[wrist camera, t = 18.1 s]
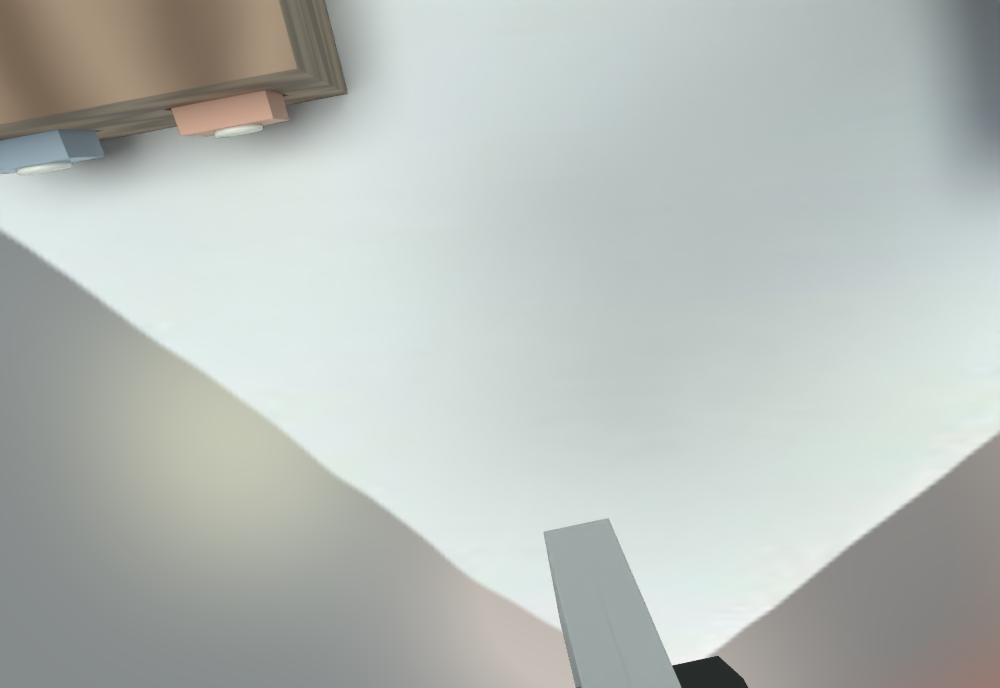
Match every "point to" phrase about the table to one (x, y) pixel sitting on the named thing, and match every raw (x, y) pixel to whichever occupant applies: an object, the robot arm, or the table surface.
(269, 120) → the terracotta key
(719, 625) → the table surface
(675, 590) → the table surface
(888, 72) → the table surface
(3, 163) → the slate key
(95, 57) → the brown wooden block
